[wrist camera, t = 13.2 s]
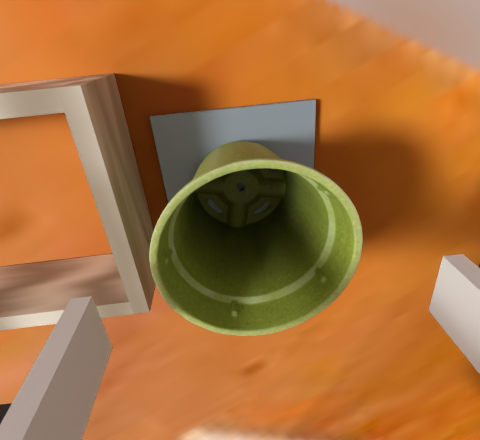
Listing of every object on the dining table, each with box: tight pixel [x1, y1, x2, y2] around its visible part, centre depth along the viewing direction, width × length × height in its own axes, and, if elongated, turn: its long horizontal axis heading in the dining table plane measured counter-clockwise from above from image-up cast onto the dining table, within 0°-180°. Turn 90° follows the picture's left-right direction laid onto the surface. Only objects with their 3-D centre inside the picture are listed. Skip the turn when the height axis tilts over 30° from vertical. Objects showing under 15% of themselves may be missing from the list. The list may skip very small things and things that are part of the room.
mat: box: [150, 99, 316, 214], centre depth 22 cm, size 10×10×1 cm
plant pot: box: [149, 141, 363, 336], centre depth 18 cm, size 9×9×9 cm
